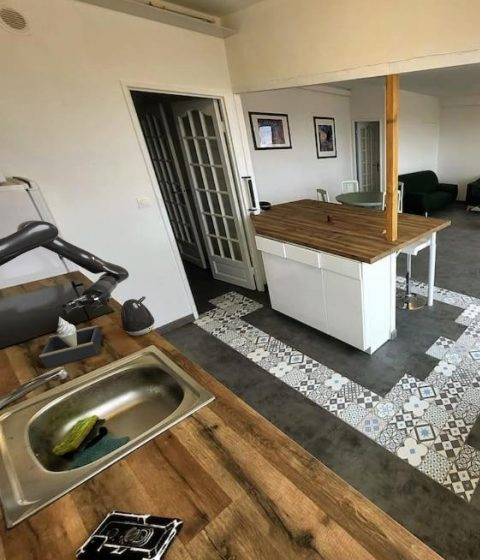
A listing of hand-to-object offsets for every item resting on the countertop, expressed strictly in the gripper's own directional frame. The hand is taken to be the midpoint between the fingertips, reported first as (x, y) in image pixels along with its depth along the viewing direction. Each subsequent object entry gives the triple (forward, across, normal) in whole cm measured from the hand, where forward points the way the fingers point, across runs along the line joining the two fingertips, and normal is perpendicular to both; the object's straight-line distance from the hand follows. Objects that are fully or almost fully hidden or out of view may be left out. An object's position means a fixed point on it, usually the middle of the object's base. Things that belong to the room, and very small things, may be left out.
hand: (78, 310), depth 120 cm
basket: (+11, 0, +12) cm, 16 cm away
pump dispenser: (+4, +19, +12) cm, 22 cm away
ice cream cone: (+11, 0, +12) cm, 16 cm away
